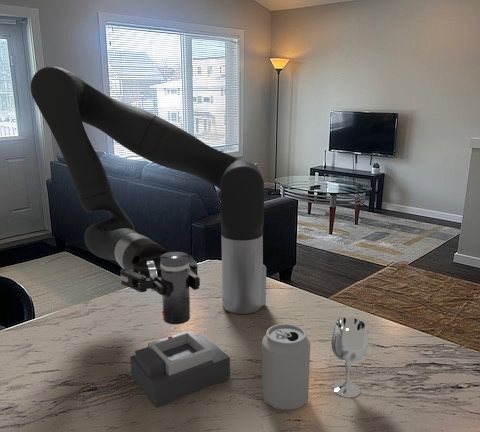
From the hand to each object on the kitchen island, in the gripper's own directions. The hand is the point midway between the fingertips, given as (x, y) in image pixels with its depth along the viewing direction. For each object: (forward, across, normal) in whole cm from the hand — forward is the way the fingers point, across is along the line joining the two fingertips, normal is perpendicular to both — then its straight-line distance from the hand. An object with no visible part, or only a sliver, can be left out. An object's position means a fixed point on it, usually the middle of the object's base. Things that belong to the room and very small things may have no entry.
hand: (183, 287), depth 76 cm
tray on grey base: (-2, 0, +18) cm, 18 cm away
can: (+13, +11, +18) cm, 25 cm away
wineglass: (+17, +21, +18) cm, 32 cm away
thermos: (-3, 0, +6) cm, 7 cm away
